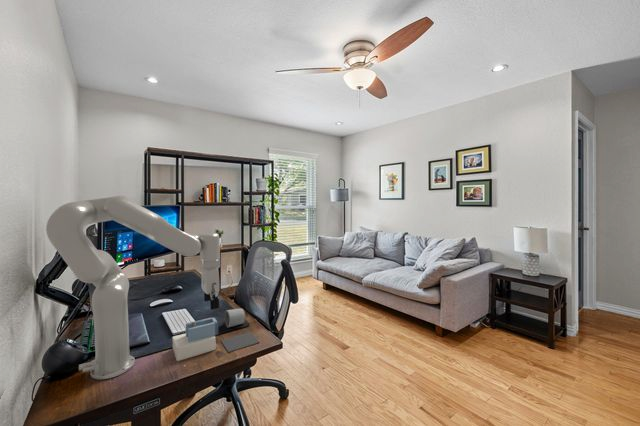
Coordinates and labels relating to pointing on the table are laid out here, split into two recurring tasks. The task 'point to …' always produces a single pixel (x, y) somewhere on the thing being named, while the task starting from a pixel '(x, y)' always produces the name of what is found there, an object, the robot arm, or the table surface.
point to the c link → (202, 329)
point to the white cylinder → (234, 317)
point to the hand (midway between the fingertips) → (211, 304)
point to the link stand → (192, 346)
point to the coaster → (239, 342)
